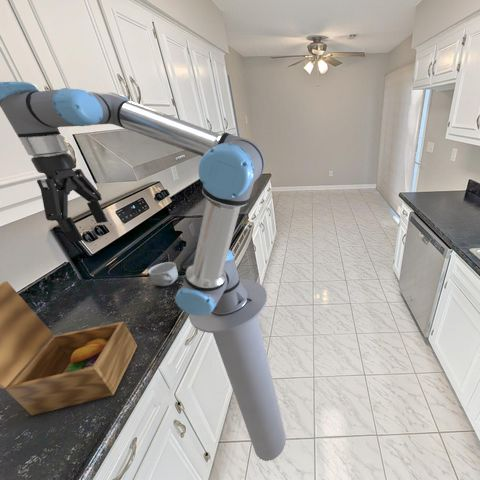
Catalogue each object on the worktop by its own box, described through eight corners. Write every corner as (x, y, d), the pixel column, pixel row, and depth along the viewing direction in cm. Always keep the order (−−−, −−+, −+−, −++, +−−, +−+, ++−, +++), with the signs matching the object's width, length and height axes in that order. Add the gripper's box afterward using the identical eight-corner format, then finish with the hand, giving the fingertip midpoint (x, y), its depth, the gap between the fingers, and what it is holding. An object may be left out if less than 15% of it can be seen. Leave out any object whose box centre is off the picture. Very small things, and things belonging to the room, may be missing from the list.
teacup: (151, 282, 116) (145, 267, 113) (176, 272, 123) (171, 258, 119) (159, 296, 107) (152, 280, 103) (185, 284, 113) (180, 269, 110)
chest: (137, 345, 84) (123, 321, 79) (113, 395, 69) (94, 368, 64) (71, 360, 80) (52, 335, 75) (31, 415, 66) (5, 389, 61)
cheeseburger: (71, 394, 69) (54, 364, 66) (84, 370, 78) (70, 343, 76) (115, 375, 73) (100, 346, 70) (123, 355, 82) (110, 329, 80)
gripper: (64, 150, 74) (98, 217, 83) (-13, 164, 52) (45, 253, 62) (93, 147, 75) (123, 214, 85) (30, 160, 53) (80, 248, 63)
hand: (90, 230), depth 73 cm, fingers open, 13 cm apart
